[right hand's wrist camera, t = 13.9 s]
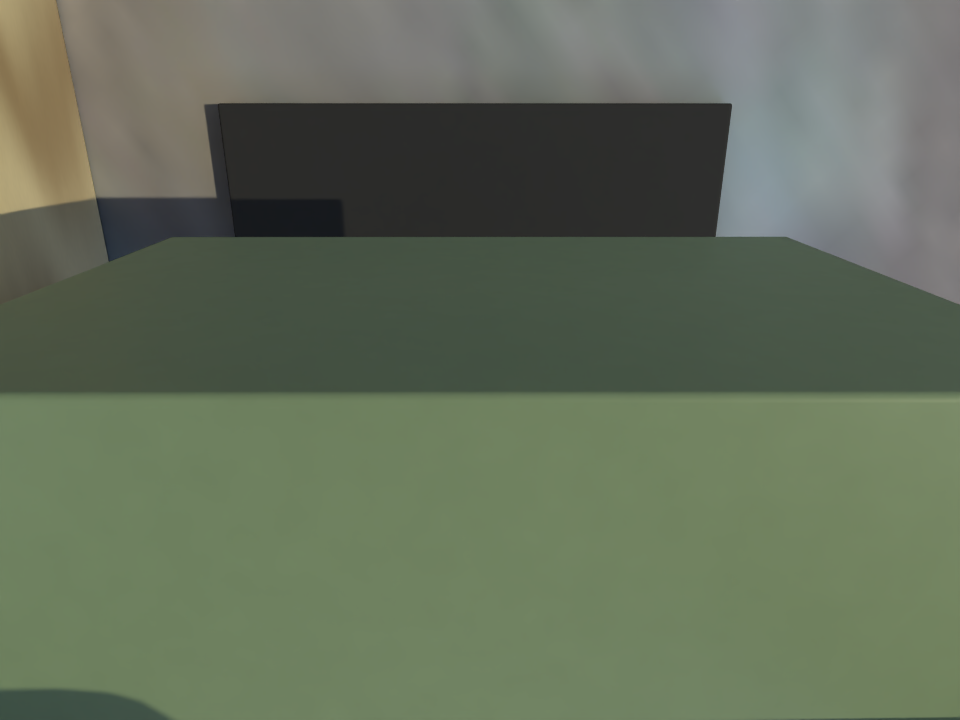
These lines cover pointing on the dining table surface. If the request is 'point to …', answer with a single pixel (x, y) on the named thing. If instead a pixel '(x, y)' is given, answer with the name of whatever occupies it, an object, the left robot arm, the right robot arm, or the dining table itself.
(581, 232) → the rubber mat
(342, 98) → the dining table surface
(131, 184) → the dining table surface
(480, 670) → the sage block
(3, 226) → the birch plank
